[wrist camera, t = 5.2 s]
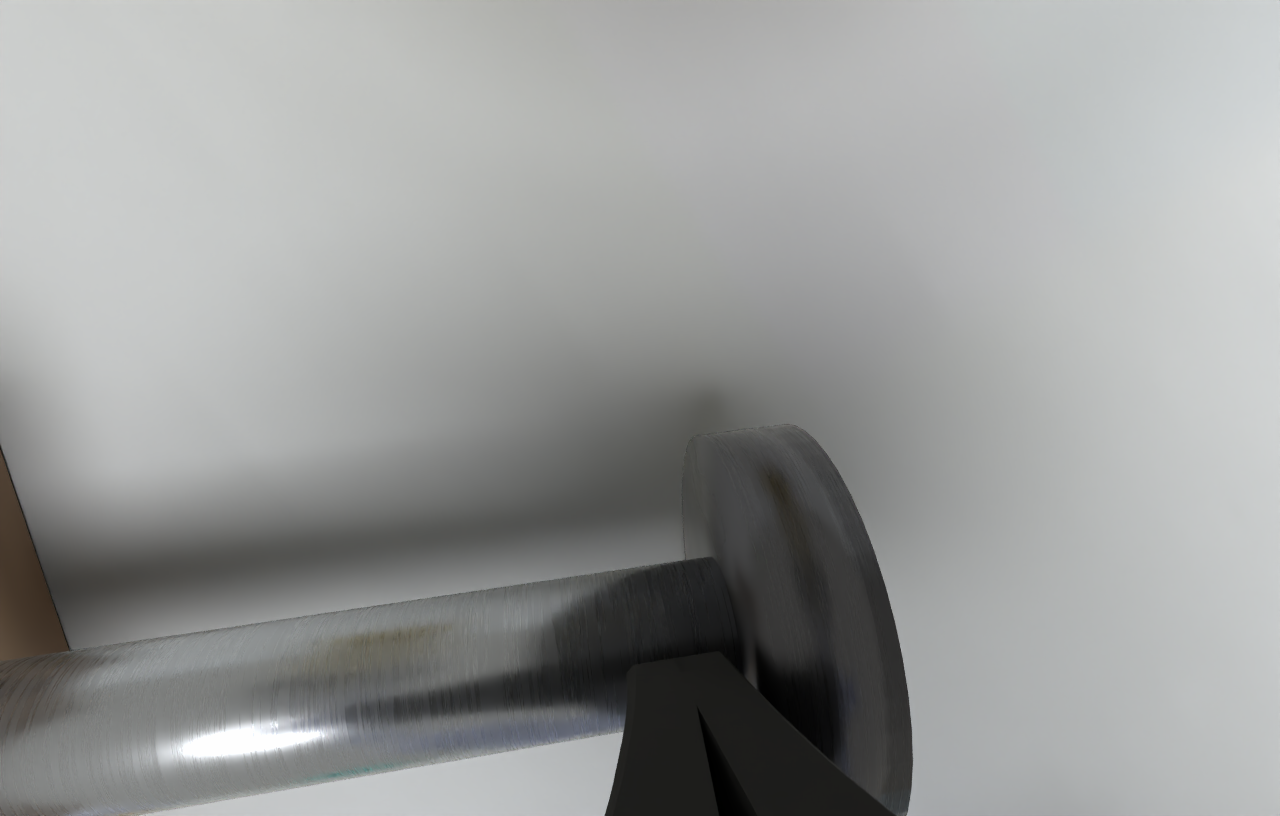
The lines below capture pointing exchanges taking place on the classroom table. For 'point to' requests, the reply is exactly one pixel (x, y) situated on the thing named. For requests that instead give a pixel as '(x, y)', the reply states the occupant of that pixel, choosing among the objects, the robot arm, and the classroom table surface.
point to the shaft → (489, 661)
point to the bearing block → (23, 586)
